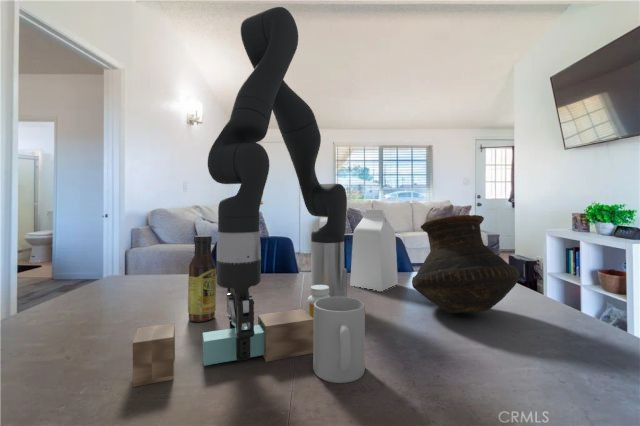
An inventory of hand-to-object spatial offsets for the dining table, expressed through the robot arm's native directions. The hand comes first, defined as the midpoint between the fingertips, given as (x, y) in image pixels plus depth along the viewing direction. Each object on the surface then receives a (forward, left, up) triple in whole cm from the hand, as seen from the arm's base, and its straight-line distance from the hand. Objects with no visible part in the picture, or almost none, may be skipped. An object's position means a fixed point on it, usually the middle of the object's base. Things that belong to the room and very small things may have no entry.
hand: (239, 348), depth 57 cm
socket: (+13, 0, -2) cm, 13 cm away
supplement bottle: (-18, -6, -2) cm, 19 cm away
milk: (-51, -36, -2) cm, 62 cm away
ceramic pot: (-55, -2, -2) cm, 55 cm away
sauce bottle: (+5, -24, -2) cm, 25 cm away
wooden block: (-9, 0, -2) cm, 9 cm away
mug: (-14, +12, -2) cm, 19 cm away
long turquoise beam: (-3, 0, -1) cm, 3 cm away
